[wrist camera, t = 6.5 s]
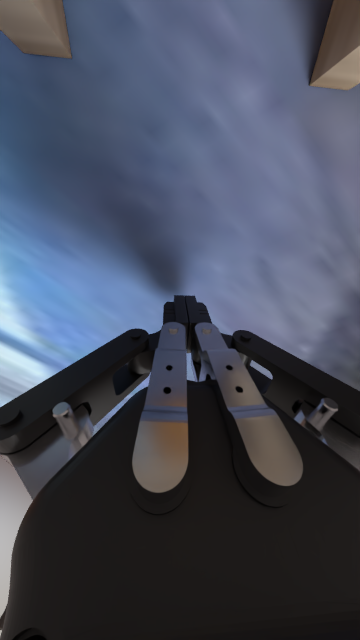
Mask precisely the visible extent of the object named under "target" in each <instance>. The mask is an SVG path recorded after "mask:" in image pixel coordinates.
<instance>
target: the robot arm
mask: <svg viewBox="0 0 360 640" xmlns="http://www.w3.org/2000/svg"><path fill="white" fill-rule="evenodd" d="M186 350H187V353H191V366H192V370H193V374H194V378H195V381H190V380H187V360H186ZM251 360H253V361H255V362H256V363H258V364H259V365H261V366H262V367H264V368H266V369H267V370H269V371H270V372H271V374H272V376H273V379H272V380H271V379H269V378H268V377H266V376H265V375H263V374H262V373H260V372H259V371H257V370H256V369H254V368H253V367H251V366H250V363H251ZM122 366H123V367H122ZM118 369H119V370H118ZM150 372H151V375H150V380H149V385H148V387H146V388H144V389H142V390H140V391H139V392H137V393H136V394H135V395H133V396H132V397H131V398H130V399H129V400H128V401H127V402H126V403H125V404H124V405H123V406H122V407H121V408H120V409H119V410H118V411H117V412H116V413H115V414H114V415H113V416H112V417H111V418H110V419H109V420H108V422H107V423H106V424H105V425H104V426H103V427H102V428H101V429H100V430H99V431H98V432H97V433H96V434H95V435H94V436H93V437H92V435H93V431H94V428H93V427H94V426H95V425H96V424H97V423H98V422H99V421H100V420H101V419H102V418H103V417H104V416H106V415H107V414H108V413H109V412H110V411H111V410H112V409H113V408H114V407H115V406H116V405H117V404H119V403H120V402H121V401H122V400H123V399H124V398H125V397H126V396H127V395H128V394H129V393H131V392H132V391H133V390H134V389H135V388H136V387H137V386H138V385H139V384H140V383H141V382H142V381H144V380H145V379H146V378H147V377H148V376H149V374H150ZM0 456H1V457H2V458H4V459H5V460H6V461H7V462H8V463H9V464H10V465H11V466H13V467H14V468H15V470H16V471H17V473H18V475H19V477H20V478H21V480H22V482H23V484H24V486H25V487H26V489H27V491H28V492H29V494H30V496H31V498H32V499H33V502H32V503H31V505H30V507H29V508H28V510H27V512H26V514H25V516H24V518H23V520H22V523H21V525H20V527H19V530H18V533H17V536H16V540H15V543H14V547H13V552H12V560H11V577H10V590H9V597H8V604H7V609H6V615H5V620H4V625H3V629H2V633H1V637H0V640H360V391H358V390H356V389H354V388H352V387H351V386H349V385H347V384H345V383H343V382H341V381H340V380H338V379H336V378H334V377H332V376H330V375H329V374H327V373H325V372H323V371H321V370H319V369H317V368H316V367H314V366H312V365H310V364H308V363H306V362H305V361H303V360H301V359H299V358H297V357H295V356H294V355H292V354H290V353H288V352H286V351H284V350H283V349H281V348H279V347H277V346H275V345H273V344H272V343H270V342H268V341H266V340H264V339H262V338H260V337H259V336H257V335H255V334H253V333H251V332H249V331H245V330H238V331H235V332H234V333H233V336H231V335H226V334H222V333H220V331H219V329H218V328H217V327H216V326H215V325H213V324H212V322H211V319H210V316H209V313H208V311H207V308H206V306H205V305H204V304H203V303H199V302H197V301H196V298H195V296H185V297H184V296H182V295H174V302H166V303H165V305H164V313H163V326H162V328H161V330H160V331H158V332H156V333H153V334H149V335H148V333H147V331H145V330H143V329H131V330H128V331H126V332H125V333H123V334H121V335H120V336H118V337H116V338H115V339H113V340H111V341H110V342H108V343H106V344H105V345H103V346H101V347H100V348H98V349H97V350H95V351H93V352H92V353H90V354H88V355H87V356H85V357H83V358H82V359H80V360H78V361H77V362H75V363H73V364H72V365H70V366H68V367H67V368H65V369H63V370H62V371H60V372H58V373H57V374H55V375H53V376H52V377H50V378H48V379H47V380H45V381H43V382H42V383H40V384H38V385H37V386H35V387H33V388H32V389H30V390H28V391H27V392H25V393H23V394H22V395H20V396H19V397H17V398H15V399H14V400H12V401H10V402H9V403H7V404H5V405H4V406H2V407H0Z"/></svg>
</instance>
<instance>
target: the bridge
mask: <svg viewBox="0 0 360 640" xmlns="http://www.w3.org/2000/svg"><path fill="white" fill-rule="evenodd" d="M0 30H1V31H2V32H3V33H4V34H5V35H6V36H7V37H8V38H9V39H10V40H11V41H12V42H13V43H14V44H15V45H16V46H17V47H18V48H19V49H20V50H21V51H22V52H23V53H27V54H36V55H45V56H53V57H62V58H71V59H72V55H71V49H70V43H69V37H68V31H67V25H66V19H65V13H64V7H63V1H62V0H0ZM359 83H360V0H334V1H333V5H332V8H331V12H330V15H329V19H328V22H327V26H326V29H325V33H324V36H323V40H322V43H321V47H320V50H319V54H318V57H317V61H316V64H315V68H314V71H313V74H312V78H311V81H310V85H309V86H316V87H324V88H333V89H342V90H349V89H351V88H352V87H354V86H356V85H357V84H359Z"/></svg>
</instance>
